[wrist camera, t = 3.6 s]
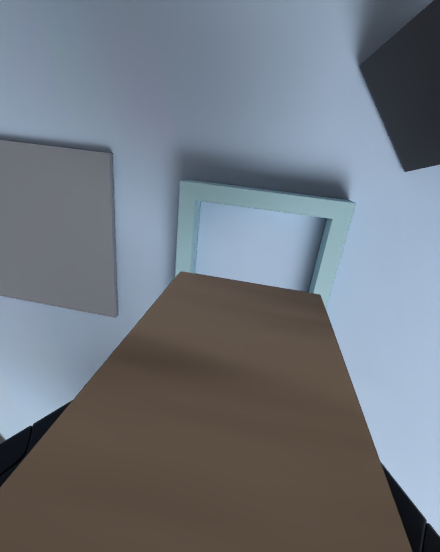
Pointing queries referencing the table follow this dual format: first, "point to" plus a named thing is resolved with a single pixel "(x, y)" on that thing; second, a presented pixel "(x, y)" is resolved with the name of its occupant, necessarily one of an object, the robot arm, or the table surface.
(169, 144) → the table surface
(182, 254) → the pocket frame
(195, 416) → the oak block
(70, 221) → the pad
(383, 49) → the phone stand
